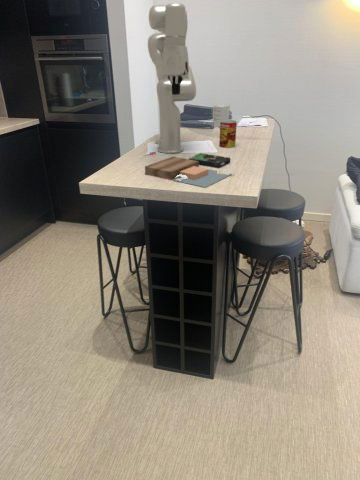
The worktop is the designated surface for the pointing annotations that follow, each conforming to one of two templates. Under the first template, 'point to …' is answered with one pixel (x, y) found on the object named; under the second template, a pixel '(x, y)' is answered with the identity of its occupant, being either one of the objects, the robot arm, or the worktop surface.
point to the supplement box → (220, 114)
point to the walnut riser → (169, 167)
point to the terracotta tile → (195, 172)
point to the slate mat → (205, 179)
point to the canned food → (227, 133)
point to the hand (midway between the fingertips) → (176, 94)
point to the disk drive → (211, 160)
